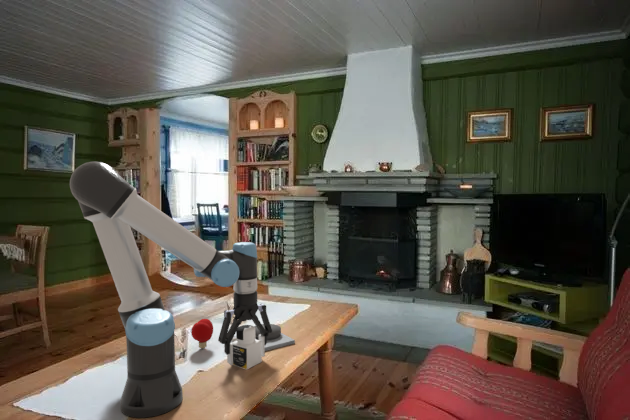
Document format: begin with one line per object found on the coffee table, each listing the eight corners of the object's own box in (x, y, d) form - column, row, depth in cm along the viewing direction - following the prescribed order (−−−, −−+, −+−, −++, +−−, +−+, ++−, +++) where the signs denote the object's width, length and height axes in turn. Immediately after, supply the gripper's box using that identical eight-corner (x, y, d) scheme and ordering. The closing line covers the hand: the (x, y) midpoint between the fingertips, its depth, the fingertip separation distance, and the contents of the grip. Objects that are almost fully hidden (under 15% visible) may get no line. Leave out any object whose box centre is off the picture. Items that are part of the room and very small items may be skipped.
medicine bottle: (230, 364, 133) (229, 327, 133) (246, 357, 139) (245, 321, 139) (246, 370, 129) (246, 332, 129) (262, 362, 135) (261, 325, 134)
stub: (259, 342, 149) (259, 335, 149) (246, 334, 158) (246, 327, 158) (286, 336, 155) (286, 329, 155) (271, 328, 164) (271, 322, 164)
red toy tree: (205, 354, 141) (205, 325, 141) (186, 353, 143) (186, 324, 142) (217, 344, 150) (217, 317, 150) (199, 343, 152) (199, 316, 151)
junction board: (244, 356, 140) (244, 349, 140) (224, 341, 154) (223, 335, 154) (294, 343, 151) (294, 337, 151) (271, 330, 165) (271, 324, 165)
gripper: (215, 299, 123) (216, 372, 124) (282, 288, 137) (283, 354, 138) (206, 294, 129) (207, 364, 131) (271, 284, 143) (271, 347, 144)
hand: (246, 359), depth 134 cm, fingers open, 10 cm apart
